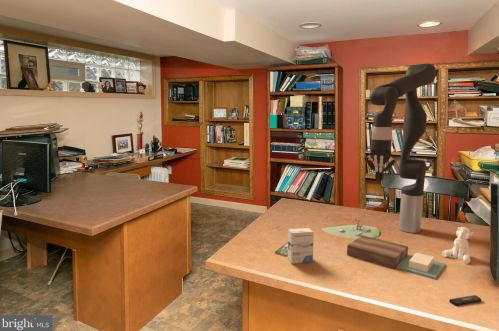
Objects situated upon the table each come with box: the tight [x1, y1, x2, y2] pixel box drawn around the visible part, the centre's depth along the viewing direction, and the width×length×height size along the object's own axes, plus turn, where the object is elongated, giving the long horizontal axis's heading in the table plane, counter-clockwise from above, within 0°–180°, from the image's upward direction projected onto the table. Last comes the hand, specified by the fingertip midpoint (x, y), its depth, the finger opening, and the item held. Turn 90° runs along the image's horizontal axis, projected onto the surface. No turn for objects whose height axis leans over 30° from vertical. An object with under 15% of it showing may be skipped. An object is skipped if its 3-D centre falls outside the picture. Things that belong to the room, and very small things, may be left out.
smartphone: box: [274, 241, 288, 258], centre depth 139 cm, size 7×1×15 cm
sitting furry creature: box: [441, 226, 475, 265], centre depth 130 cm, size 10×9×12 cm
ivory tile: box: [409, 252, 435, 272], centre depth 122 cm, size 9×6×2 cm, turn 140°
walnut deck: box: [346, 235, 409, 269], centre depth 132 cm, size 14×18×4 cm
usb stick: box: [448, 295, 482, 307], centre depth 100 cm, size 10×3×2 cm, turn 103°
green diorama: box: [321, 215, 380, 240], centre depth 158 cm, size 25×21×9 cm
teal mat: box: [395, 254, 446, 280], centre depth 123 cm, size 14×13×1 cm
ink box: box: [287, 227, 315, 265], centre depth 128 cm, size 8×5×12 cm, turn 100°
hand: (379, 180), depth 139 cm, fingers closed
